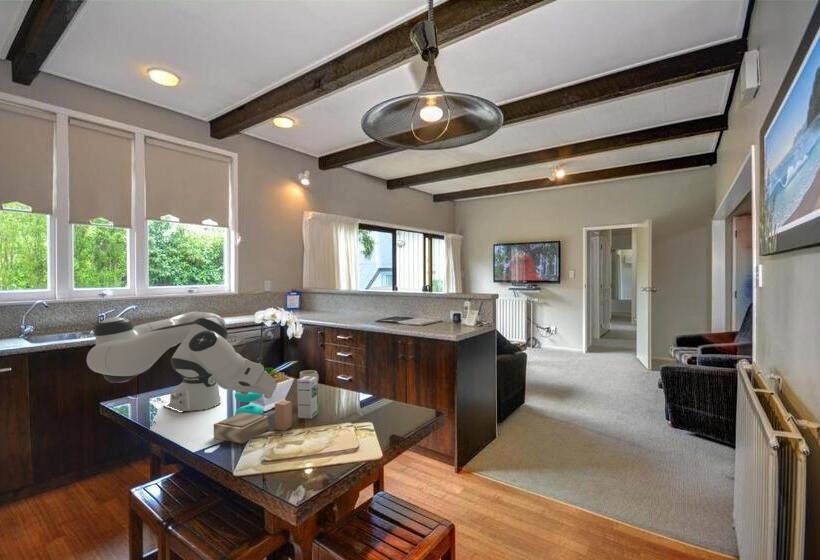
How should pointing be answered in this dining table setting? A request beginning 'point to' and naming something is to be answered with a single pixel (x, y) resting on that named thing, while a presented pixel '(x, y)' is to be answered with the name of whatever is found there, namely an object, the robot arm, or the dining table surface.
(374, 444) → the dining table surface
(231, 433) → the plinth
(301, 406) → the syrup box
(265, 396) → the robot arm
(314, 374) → the character mug
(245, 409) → the donuts
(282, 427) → the terracotta block
